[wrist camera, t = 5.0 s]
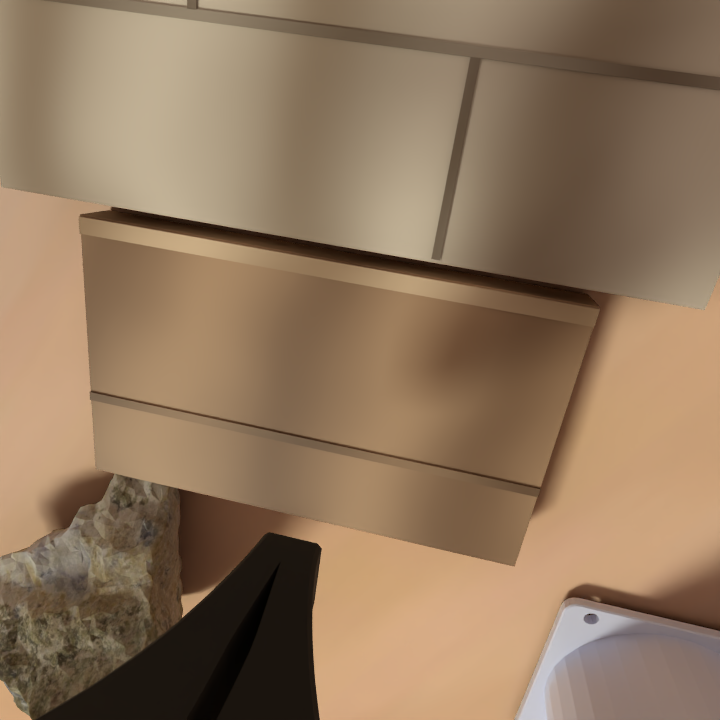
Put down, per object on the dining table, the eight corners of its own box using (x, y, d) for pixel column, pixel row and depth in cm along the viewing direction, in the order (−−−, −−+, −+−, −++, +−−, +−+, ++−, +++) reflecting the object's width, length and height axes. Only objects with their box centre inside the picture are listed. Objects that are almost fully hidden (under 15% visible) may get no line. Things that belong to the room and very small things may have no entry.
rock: (148, 446, 19) (140, 798, 14) (248, 476, 24) (266, 741, 19) (-58, 520, 22) (-118, 822, 17) (67, 532, 27) (46, 769, 23)
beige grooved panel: (872, -173, 11) (932, -218, 9) (683, 295, 15) (705, 310, 13) (-12, -244, 13) (-66, -288, 11) (36, 183, 17) (-1, 187, 15)
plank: (587, 294, 15) (600, 307, 14) (510, 538, 19) (514, 567, 17) (108, 210, 17) (78, 214, 15) (118, 449, 20) (94, 470, 19)
